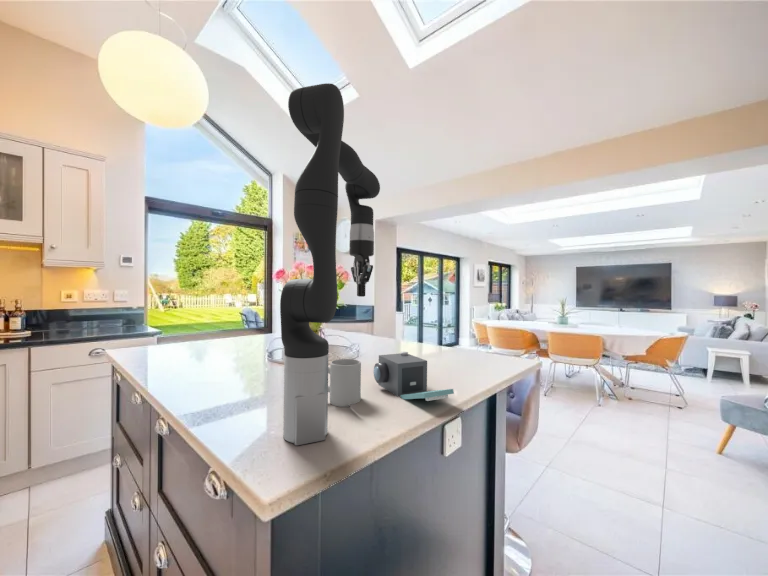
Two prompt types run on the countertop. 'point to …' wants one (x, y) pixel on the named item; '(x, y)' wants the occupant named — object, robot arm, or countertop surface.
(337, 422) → the countertop surface
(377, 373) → the camera box
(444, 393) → the side door
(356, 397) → the mug
